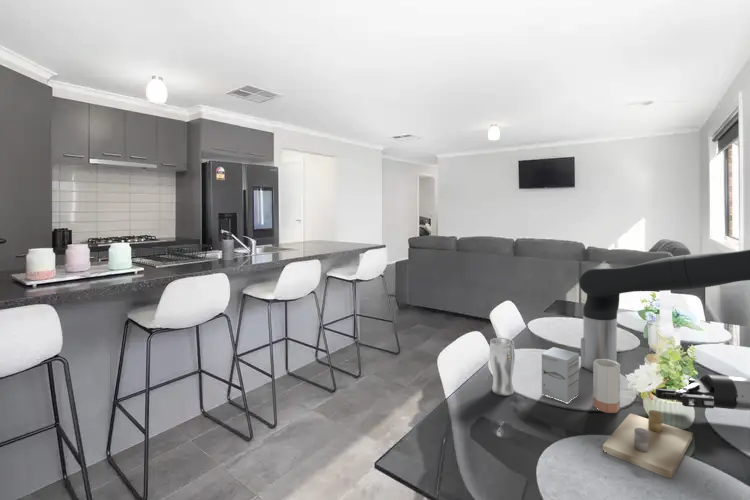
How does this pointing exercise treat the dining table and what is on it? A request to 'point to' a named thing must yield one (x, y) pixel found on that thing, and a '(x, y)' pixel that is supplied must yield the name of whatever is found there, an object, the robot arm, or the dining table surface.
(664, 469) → the pin board
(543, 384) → the supplement box
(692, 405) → the robot arm
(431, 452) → the dining table surface
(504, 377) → the beer glass
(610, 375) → the sleeve
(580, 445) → the dining table surface
